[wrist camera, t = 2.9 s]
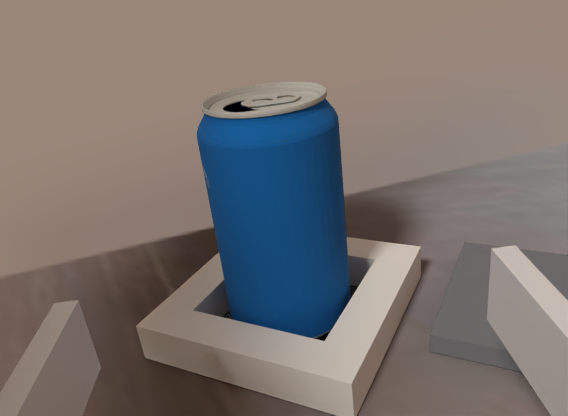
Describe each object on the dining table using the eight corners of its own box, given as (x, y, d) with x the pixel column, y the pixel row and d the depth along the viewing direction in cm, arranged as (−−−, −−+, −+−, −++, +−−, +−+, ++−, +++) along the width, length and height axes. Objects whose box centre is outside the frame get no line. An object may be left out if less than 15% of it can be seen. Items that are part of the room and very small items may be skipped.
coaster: (430, 351, 24) (430, 334, 24) (464, 256, 32) (464, 242, 31) (662, 403, 20) (668, 384, 20) (641, 280, 27) (645, 264, 27)
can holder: (145, 357, 26) (135, 326, 26) (254, 250, 35) (250, 224, 34) (354, 420, 21) (351, 383, 20) (420, 276, 30) (420, 246, 29)
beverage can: (231, 291, 31) (194, 91, 26) (338, 274, 31) (321, 73, 26) (234, 365, 25) (187, 125, 20) (365, 343, 25) (351, 102, 20)
